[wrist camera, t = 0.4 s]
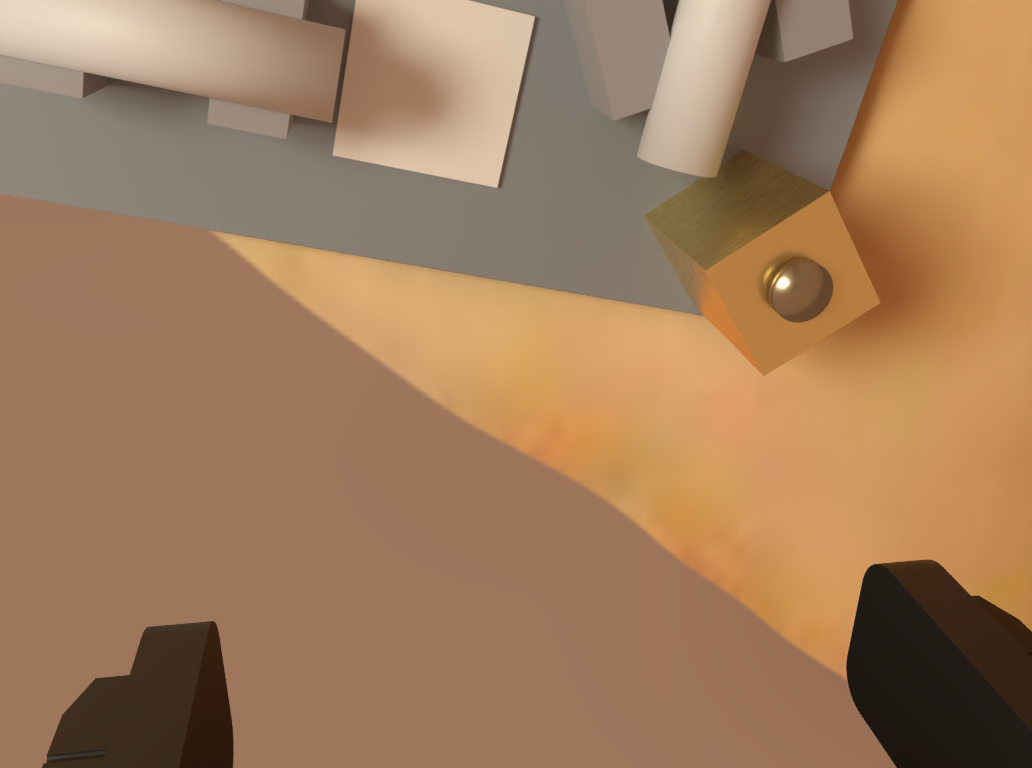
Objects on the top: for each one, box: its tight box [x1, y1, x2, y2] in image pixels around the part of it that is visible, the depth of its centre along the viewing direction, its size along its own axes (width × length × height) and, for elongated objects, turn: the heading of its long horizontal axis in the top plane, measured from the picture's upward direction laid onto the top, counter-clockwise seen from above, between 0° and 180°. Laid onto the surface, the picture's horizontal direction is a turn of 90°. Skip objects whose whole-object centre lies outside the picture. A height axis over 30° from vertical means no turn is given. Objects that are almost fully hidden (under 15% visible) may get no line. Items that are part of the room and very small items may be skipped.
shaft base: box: [0, 0, 898, 316], centre depth 31 cm, size 16×30×6 cm, turn 77°
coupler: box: [644, 150, 881, 376], centre depth 33 cm, size 4×4×8 cm
